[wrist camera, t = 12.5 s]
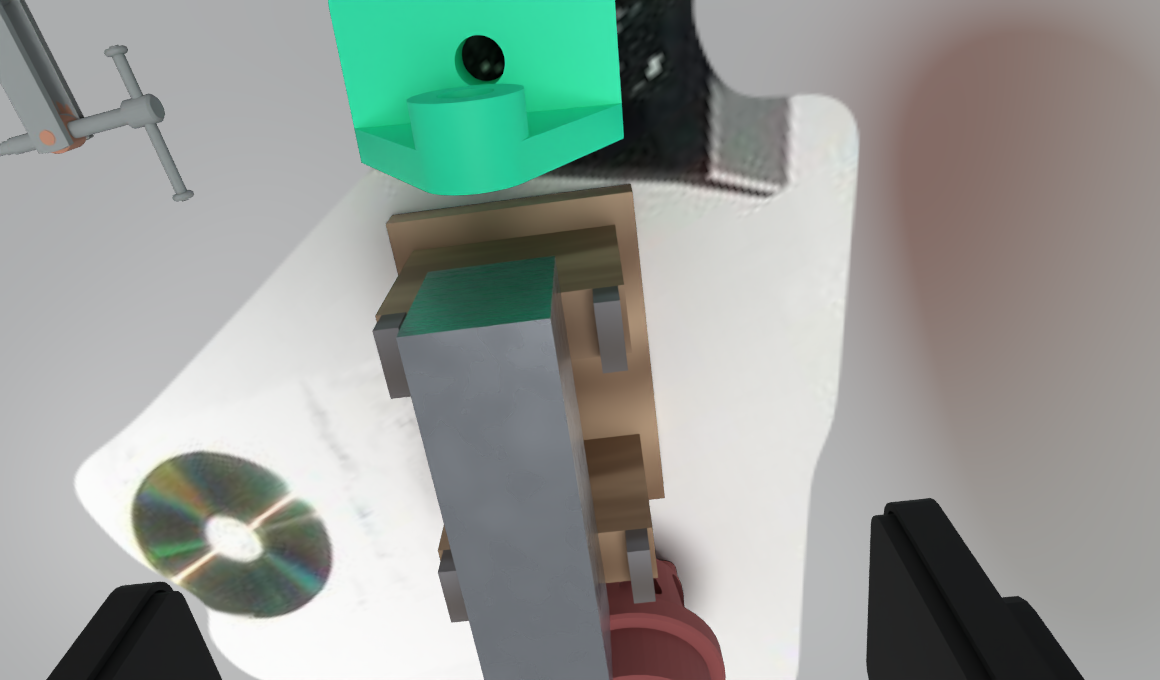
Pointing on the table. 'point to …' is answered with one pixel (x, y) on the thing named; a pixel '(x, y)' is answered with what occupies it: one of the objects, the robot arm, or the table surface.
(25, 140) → the clamp
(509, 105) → the camera mount
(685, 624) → the mechanical component
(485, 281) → the matte grey brick
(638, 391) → the rack
